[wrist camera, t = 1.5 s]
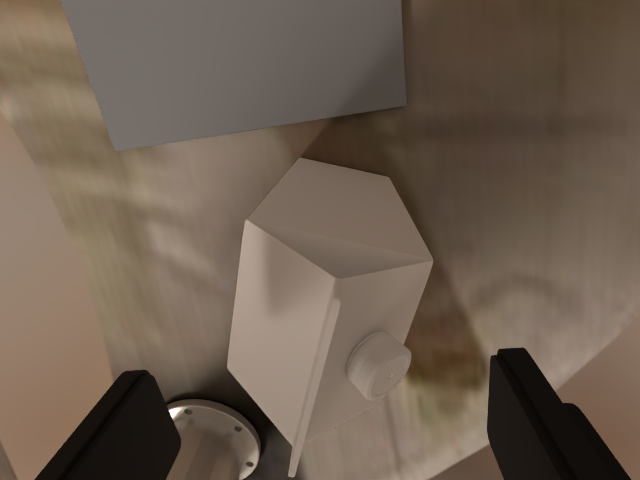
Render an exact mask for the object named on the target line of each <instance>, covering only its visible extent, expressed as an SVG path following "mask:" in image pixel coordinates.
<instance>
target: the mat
mask: <svg viewBox="0 0 640 480" xmlns="http://www.w3.org/2000/svg"><path fill="white" fill-rule="evenodd" d="M61 3H62V6H63V8H64V11H65V14H66V17H67V19H68V22H69V25H70V28H71V30H72V33H73V36H74V39H75V42H76V44H77V47H78V50H79V53H80V55H81V58H82V61H83V64H84V66H85V69H86V72H87V75H88V78H89V80H90V83H91V86H92V89H93V91H94V94H95V97H96V100H97V102H98V105H99V108H100V111H101V113H102V116H103V119H104V122H105V125H106V127H107V130H108V133H109V136H110V138H111V141H112V144H113V147H114V149H115V151H122V150H128V149H134V148H141V147H147V146H153V145H160V144H166V143H173V142H179V141H185V140H192V139H198V138H204V137H211V136H217V135H223V134H230V133H236V132H243V131H249V130H255V129H262V128H268V127H274V126H281V125H287V124H293V123H300V122H306V121H313V120H319V119H325V118H332V117H338V116H344V115H351V114H357V113H363V112H370V111H376V110H383V109H389V108H395V107H402V106H407V99H406V81H405V62H404V44H403V25H402V7H401V0H61Z"/></svg>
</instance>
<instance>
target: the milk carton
mask: <svg viewBox="0 0 640 480" xmlns="http://www.w3.org/2000/svg"><path fill="white" fill-rule="evenodd" d="M432 265H433V258H432V256H431V254H430V252H429V250H428V248H427V247H426V245H425V243H424V241H423V239H422V237H421V235H420V234H419V232H418V230H417V228H416V226H415V224H414V223H413V221H412V219H411V217H410V215H409V213H408V211H407V210H406V208H405V206H404V204H403V202H402V200H401V198H400V197H399V195H398V193H397V191H396V189H395V187H394V186H393V184H392V182H391V180H390V178H389V177H387V176H382V175H378V174H373V173H369V172H364V171H359V170H355V169H350V168H346V167H341V166H337V165H332V164H327V163H323V162H318V161H314V160H309V159H305V158H299V159H298V160H297V161H296V162H295V163H294V164H293V166H292V167H291V168H290V169H289V170H288V171H287V173H286V174H285V175H284V176H283V177H282V178H281V180H280V181H279V182H278V183H277V184H276V185H275V187H274V188H273V189H272V190H271V191H270V192H269V194H268V195H267V196H266V197H265V198H264V199H263V201H262V202H261V203H260V204H259V205H258V207H257V208H256V209H255V210H254V211H253V212H252V214H251V215H250V216H249V217H248V218H247V219H246V220H245V225H244V231H243V238H242V246H241V254H240V262H239V270H238V279H237V287H236V295H235V303H234V311H233V319H232V327H231V335H230V343H229V351H228V361H227V369H228V370H229V371H230V372H231V374H232V375H233V376H234V377H235V378H236V380H237V381H238V382H239V383H240V384H241V386H242V387H243V388H244V389H245V390H246V392H247V393H248V394H249V395H250V396H251V397H252V399H253V400H254V401H255V402H256V403H257V405H258V406H259V407H260V408H261V409H262V411H263V412H264V413H265V414H266V415H267V417H268V418H269V419H270V420H271V421H272V423H273V424H274V425H275V426H276V427H277V428H278V430H279V431H280V432H281V433H282V434H283V436H284V437H285V438H286V439H287V440H288V442H289V443H290V444H291V445H292V446H293V448H292V455H291V461H290V467H289V473H288V476H289V477H294V476H295V473H296V470H297V466H298V462H299V458H300V455H301V451H302V447H303V445H304V444H306V443H308V442H310V441H312V440H313V439H315V438H317V437H319V436H321V435H323V434H324V433H326V432H328V431H330V430H332V429H333V428H335V427H337V426H339V425H341V424H343V423H344V422H346V421H348V420H350V419H352V418H354V417H355V416H357V415H359V414H361V413H363V412H364V411H366V410H368V409H370V408H372V407H374V406H375V405H377V404H379V403H380V402H381V401H382V399H383V397H384V396H385V395H387V394H388V393H390V392H391V391H392V390H393V389H394V388H395V387H396V386H397V385H398V384H399V383H400V382H401V380H402V379H403V377H404V376H405V374H406V372H407V370H408V368H409V366H410V362H411V352H410V350H409V349H408V348H406V347H405V346H404V342H405V339H406V337H407V334H408V331H409V329H410V326H411V323H412V321H413V318H414V315H415V313H416V310H417V307H418V305H419V302H420V299H421V297H422V294H423V291H424V288H425V286H426V283H427V280H428V277H429V274H430V271H431V268H432Z"/></svg>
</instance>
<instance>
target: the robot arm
mask: <svg viewBox="0 0 640 480" xmlns="http://www.w3.org/2000/svg"><path fill="white" fill-rule="evenodd" d="M487 433H488V438H489V442H490V445H491V448H492V450H493V453H494V455H495V458H496V460H497V463H498V465H499V468H500V470H501V473H502V475H503V478H504V480H631V479H630V477H629V476H628V475H627V473H626V472H625V471H624V469H623V468H622V466H621V465H620V463H619V462H618V461H617V459H616V458H615V457H614V455H613V454H612V452H611V451H610V450H609V448H608V447H607V446H606V444H605V443H604V442H603V440H602V439H601V437H600V436H599V434H598V433H597V432H596V430H595V429H594V428H593V426H592V425H591V423H590V422H589V421H588V419H587V418H586V416H585V415H584V414H583V413H582V412H581V410H580V409H579V408H578V407H577V406H576V405H574V404H572V403H562V401H561V400H560V398H559V397H558V396H557V394H556V393H555V391H554V390H553V388H552V387H551V385H550V384H549V382H548V381H547V379H546V378H545V376H544V375H543V373H542V372H541V370H540V369H539V368H538V366H537V365H536V363H535V362H534V360H533V359H532V357H531V356H530V354H529V353H528V351H527V350H526V349H525V348H507V349H499V350H498V353H497V355H492V356H491V359H490V379H489V399H488V420H487ZM260 452H261V443H260V439H259V436H258V434H257V432H256V430H255V428H254V427H253V426H252V425H251V423H250V422H249V421H248V420H247V419H246V418H245V417H243V416H242V415H241V414H240V413H238V412H237V411H235V410H233V409H232V408H230V407H227V406H225V405H223V404H220V403H217V402H213V401H209V400H202V399H186V400H180V401H176V402H173V403H171V404H168V405H166V403H165V401H164V398H163V396H162V394H161V392H160V389H159V387H158V385H157V382H156V380H155V378H154V376H152V375H150V373H149V372H148V371H147V370H134V371H125V372H123V373H122V374H121V375H120V376H119V377H118V378H117V380H116V381H115V382H114V383H113V385H112V386H111V387H110V388H109V389H108V391H107V392H106V393H105V394H104V396H103V397H102V398H101V399H100V400H99V402H98V403H97V404H96V405H95V407H94V408H93V409H92V410H91V411H90V413H89V414H88V415H87V416H86V417H85V419H84V420H83V421H82V422H81V424H80V425H79V426H78V427H77V428H76V430H75V431H74V432H73V433H72V435H71V436H70V437H69V438H68V439H67V441H66V442H65V443H64V444H63V445H62V447H61V448H60V449H59V450H58V452H57V453H56V454H55V455H54V457H53V458H52V459H51V460H50V461H49V463H48V464H47V465H46V466H45V468H44V469H43V470H42V471H41V472H40V474H39V475H38V476H37V477H36V478H35V480H242V479H244V478H246V477H247V476H248V475H250V474H251V473H252V472H253V470H254V469H255V468H256V466H257V463H258V461H259V456H260Z"/></svg>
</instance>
